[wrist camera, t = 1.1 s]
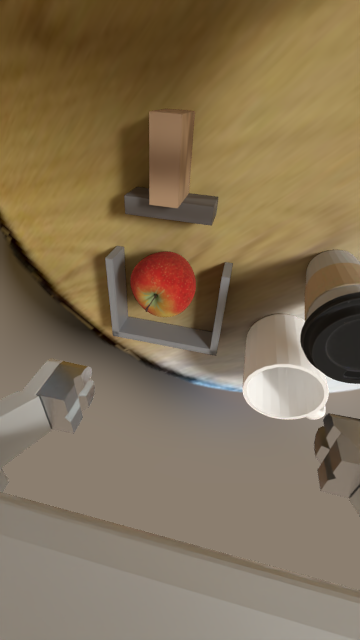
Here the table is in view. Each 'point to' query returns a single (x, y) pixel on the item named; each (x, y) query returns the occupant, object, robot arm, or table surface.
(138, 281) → the apple
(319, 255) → the coffee cup
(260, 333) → the mug
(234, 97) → the table surface
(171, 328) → the tray
